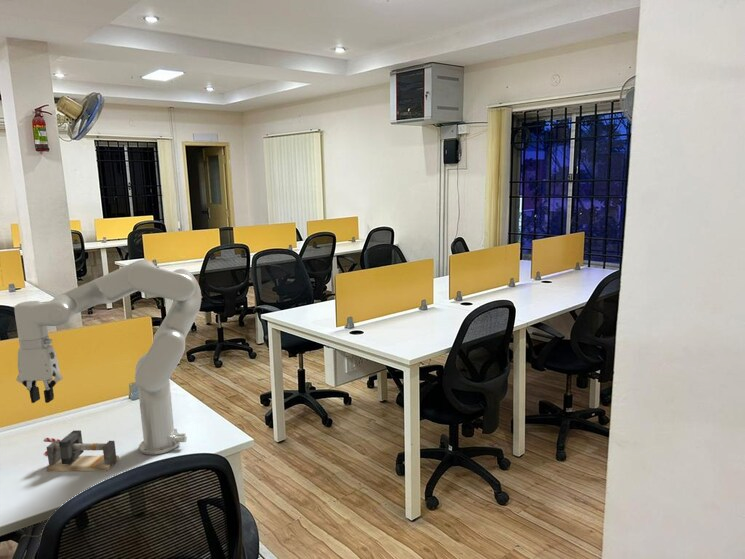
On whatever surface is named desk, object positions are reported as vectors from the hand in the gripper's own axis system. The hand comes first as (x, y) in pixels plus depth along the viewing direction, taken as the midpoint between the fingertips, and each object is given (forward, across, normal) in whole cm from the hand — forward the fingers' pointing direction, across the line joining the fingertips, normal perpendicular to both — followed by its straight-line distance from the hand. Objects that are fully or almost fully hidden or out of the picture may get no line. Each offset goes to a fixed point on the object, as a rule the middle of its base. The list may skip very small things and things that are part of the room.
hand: (42, 400), depth 165 cm
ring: (+19, -7, 0) cm, 20 cm away
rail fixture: (+21, -10, 0) cm, 23 cm away
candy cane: (+22, +7, -12) cm, 26 cm away
